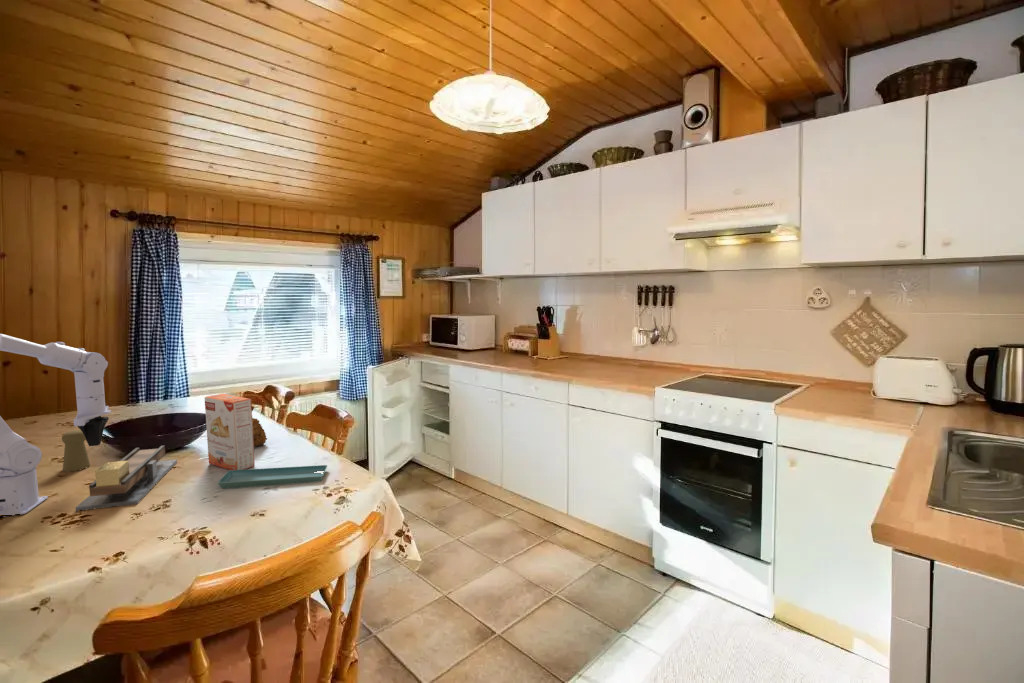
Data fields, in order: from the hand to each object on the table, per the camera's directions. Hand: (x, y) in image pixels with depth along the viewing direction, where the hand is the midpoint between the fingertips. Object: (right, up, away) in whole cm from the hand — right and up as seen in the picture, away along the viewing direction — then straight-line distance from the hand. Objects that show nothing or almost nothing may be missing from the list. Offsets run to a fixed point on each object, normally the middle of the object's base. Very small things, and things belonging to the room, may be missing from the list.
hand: (94, 445), depth 129 cm
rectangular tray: (+48, -11, +3) cm, 49 cm away
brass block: (+15, -6, -12) cm, 20 cm away
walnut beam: (+11, -6, -2) cm, 13 cm away
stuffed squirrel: (+25, -7, +32) cm, 41 cm away
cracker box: (+30, -9, +13) cm, 34 cm away
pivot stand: (+11, -10, -1) cm, 15 cm away
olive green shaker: (-14, -9, +10) cm, 19 cm away
